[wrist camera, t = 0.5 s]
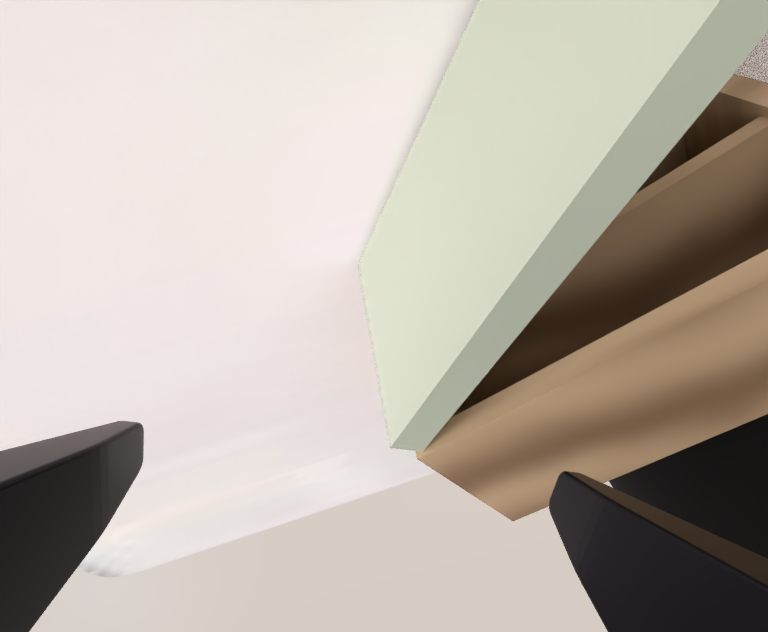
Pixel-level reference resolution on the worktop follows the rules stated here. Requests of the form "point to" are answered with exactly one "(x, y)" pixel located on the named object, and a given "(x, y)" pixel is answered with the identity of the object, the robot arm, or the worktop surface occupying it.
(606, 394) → the cabinet
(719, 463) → the coffee jar
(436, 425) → the door
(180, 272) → the worktop surface
